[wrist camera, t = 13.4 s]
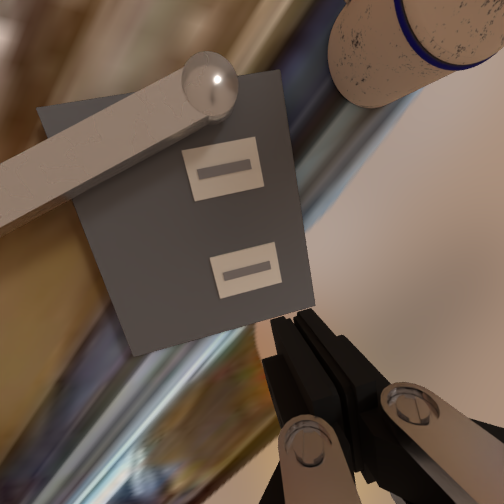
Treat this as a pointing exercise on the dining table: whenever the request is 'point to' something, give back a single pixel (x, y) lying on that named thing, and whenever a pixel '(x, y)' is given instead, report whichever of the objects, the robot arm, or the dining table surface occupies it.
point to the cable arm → (116, 138)
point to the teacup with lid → (409, 44)
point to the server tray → (200, 223)
